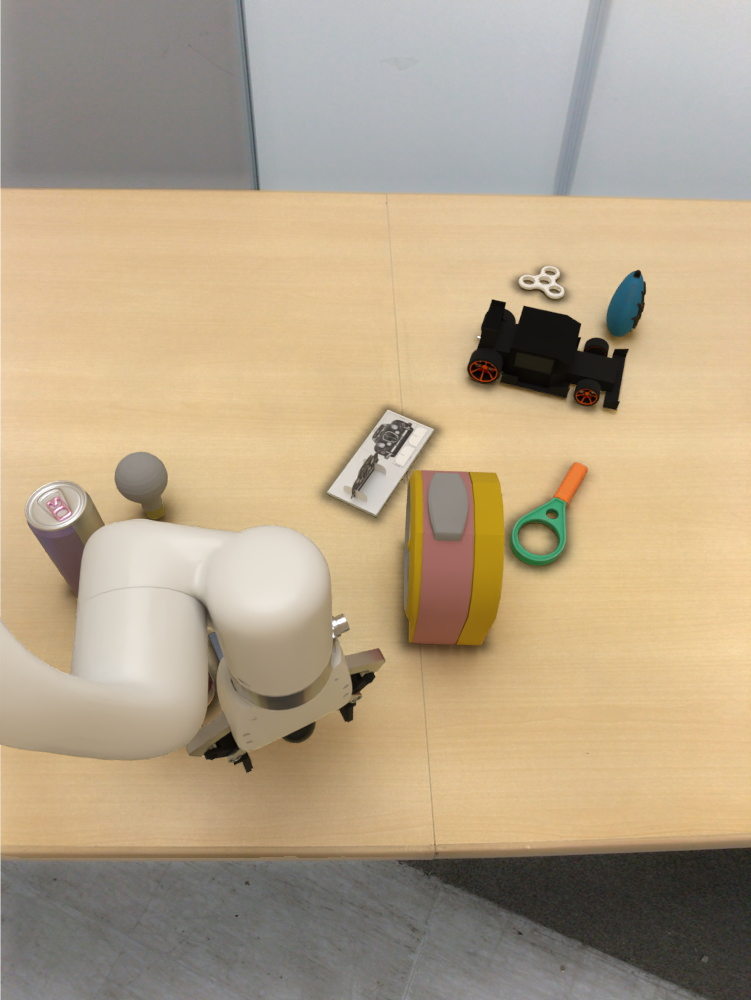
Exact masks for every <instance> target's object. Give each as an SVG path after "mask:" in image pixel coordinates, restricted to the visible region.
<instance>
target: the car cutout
mask: <svg viewBox="0 0 751 1000" xmlns="http://www.w3.org/2000/svg"><path fill="white" fill-rule="evenodd" d="M434 432H435V429H434V428H432V427H430V426H428V425H426V424H423V423H421V422H419V421H416V420H413V419H411V418H409V417H407V416H404V415H402V414H399V413H397V412H395V411H392V410H390V409H387V410H386V412H385V413H384V414H383V415H382V417H381V418H380V419H379V421H378V422H377V424H376V425H375V426H374V428H373V429H372V430H371V432H370V433H369V434H368V436H367V437H366V439H365V440H364V441H363V443H362V444H361V445H360V446H359V448H358V449H357V450H356V452H355V454H354V455H353V456H352V457H351V458H350V460H349V461H348V463H347V464H346V466H345V467H344V468H343V470H342V471H341V472H340V474H339V475H338V477H337V478H336V479H335V481H334V482H333V483H332V485H331V486H330V487H329V489H328V490H327V492H326V494H327V495H328V496H330V497H332V498H334V499H336V500H339V501H341V502H343V503H345V504H347V505H349V506H351V507H354V508H355V509H357V510H360V511H362V512H364V513H366V514H368V515H370V516H373V517H375V518H378V515H379V514H380V513H381V511H382V510H383V508H384V506H386V504H387V502H388V501H389V499H390V498H391V496H392V494H393V493H394V492H395V490H396V489H397V487H398V486H399V484H400V483H401V481H402V479H403V478H404V477H405V476H406V474H407V472H408V471H409V470H410V468H411V466H412V465H413V463H414V462H415V461H416V459H417V458H418V456H419V455H420V453H421V452H422V450H423V449H424V447H425V445H426V444H427V443H428V441H429V439H430V438H431V437H432V436H433V434H434Z"/></svg>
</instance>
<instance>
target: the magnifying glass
mask: <svg viewBox="0 0 751 1000" xmlns="http://www.w3.org/2000/svg"><path fill="white" fill-rule="evenodd" d="M588 471H589V469H588V467H587V466H586V465H584V464H582V463H580V462H578V461H577V462H573V463H572V465H571V467H570V468H569V470H568V471H567V472H566V475H565V476H564V478H563V480H562V481H561V483H560V484H559V487H558V488H557V490H556V491H555V493H554V494H553V497H552V499H551V500H549V501H548V502H546V503H544V504H542V505H540V506H539V507H536V508H535V509H533V510H532V511H529V512H528V513H526V514H524V515H523V516H521V517H520V518H519V519H518V520H517V521H516V522H515V524H514V525H513V528H512V529H511V532H510V537H509V539H510V540H509V544H510V548H511V551H512V552H513V555H515V556H516V558H518V559H519V560H520V561H521V562H523V563H525V564H527V565H530V566H536V567H538V566H539V567H540V566H547V565H548V564H551V563H553V562H554V561H556V560H557V559H558V558H559V557H560V556H561V555H562V553H563V551H564V549H565V546H566V544H567V543H566V542H567V520H566V519H567V518H566V507H567V506H568V505H569V504H570V502H571V500H572V499H573V497H574V495H575V493H576V491H577V490H578V488H579V487H580V485H581V483H582V481H583V480H584V479H585V476H586V475H587V473H588ZM548 513H552V514H554V515H555V516H556V518H549V517H548V515H547V514H548ZM530 523H538V524H543V525H546V526H547V527H549V528H550V529H552V531H553V532H554V533H555V534H556V537H557V541H558V543H557V547H556V549H555V550H553V552H550V553H548V554H545V555H544V554H543V555H541V554H540V555H539V554H535V553H532V552H529V551H528V550H526V549H525V548H524V547H523V546H522V544H521V542H520V541H519V538H518V537H519V536H518V534H519V531H520V529H521V528H522V527H524V525H527V524H530Z"/></svg>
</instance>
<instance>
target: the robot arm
mask: <svg viewBox="0 0 751 1000" xmlns="http://www.w3.org/2000/svg"><path fill="white" fill-rule="evenodd" d="M330 571H331V570H330V566H329V563H328V562H327V559H326V557H325V555H324V553H323V551H322V550H321V548H319V546H318V545H317V544H316V543H315V542H314V540H312V539H311V538H309V537H308V536H307V535H305V534H304V533H302V532H300V531H298V530H297V529H294V528H291V527H287V526H283V525H277V524H264V525H257V526H253V527H248V528H246V529H243V530H240V531H237V530H227V529H217V528H208V527H201V526H195V525H187V524H182V523H175V522H167V521H159V520H154V519H146V518H132V519H127V520H119V521H113V522H110V523H108V524H105V526H103V527H101V528H99V529H98V530H97V531H95V532H94V533H93V534H92V535H91V537H90V538H89V539H88V541H87V543H86V545H85V548H84V551H83V555H82V560H81V569H80V580H79V591H78V598H77V602H76V603H77V604H76V614H75V620H74V630H73V639H72V650H71V651H72V652H71V662H70V673H67V672H64V671H62V670H61V669H58V668H56V667H54V666H52V665H51V664H48V663H47V662H45V661H44V660H43V659H42V658H40V657H39V656H37V655H36V654H35V653H33V652H32V651H31V650H30V649H28V647H27V646H25V645H24V644H23V642H21V640H19V639H18V638H17V637H16V636H15V635H14V633H13V632H12V631H11V629H10V628H9V627H8V626H7V624H6V623H5V622H4V621H3V620H2V618H1V617H0V746H4V747H6V748H7V747H8V748H12V749H17V750H22V751H30V752H38V753H46V754H47V753H48V754H55V755H60V756H61V755H62V756H67V757H68V756H69V757H75V758H84V759H85V758H86V759H93V760H94V759H95V760H102V761H124V762H125V761H127V762H128V761H129V762H133V761H146V760H152V759H157V758H160V757H165V756H168V755H171V754H173V753H175V752H177V751H179V750H181V749H182V748H184V747H185V750H186V752H187V755H188V757H194V758H202V757H204V758H205V760H206V761H209V760H210V761H213V760H216V759H222V758H226V760H227V762H228V764H229V763H230V764H231V763H233V765H234V766H237V765H239V764H242V765H243V768H244V770H245V773H246V774H248V773H251V772H252V771H253V769H254V765H253V763H252V760H251V757H250V754H249V752H253V751H255V750H258V749H261V748H263V747H265V746H267V745H269V744H272V743H274V742H276V741H278V740H280V739H282V737H284V736H286V735H288V734H290V733H292V732H294V731H297V730H299V729H301V728H303V727H305V726H307V725H309V724H311V723H313V722H315V721H316V722H317V721H319V720H321V719H322V718H324V717H326V716H328V715H330V714H332V713H334V712H336V711H339V713H340V715H341V717H342V719H343V721H344V723H350V722H352V721H354V708H355V707H356V706H357V703H358V701H360V700H361V699H362V698H363V694H362V692H361V691H362V690H364V689H365V688H366V687H367V686H368V685H369V684H372V683H373V681H375V679H376V677H377V676H376V672H377V673H378V671H379V670H380V669H381V668H382V667H383V665H384V664H386V662H387V660H386V658H385V656H384V654H383V652H382V650H381V649H380V648H379V647H377V648H372V649H368V650H364V651H360V652H355V653H351V654H346V655H345V652H344V650H343V648H342V646H341V643H340V640H339V638H340V637H342V634H344V633H346V632H348V631H350V630H351V629H350V625H349V621H348V619H347V617H346V616H345V614H344V613H340V614H338V615H335V616H333V601H332V599H333V598H332V595H333V594H332V577H331V572H330ZM208 628H210V629H211V630H213V631H214V632H215V633H216V635H217V638H218V641H219V644H220V647H221V650H222V653H223V656H224V657H223V658H222V659H221V661H220V663H219V664H218V667H217V672H216V691H217V696H218V701H219V704H220V708H221V713H220V714H219V715H217V716H216V717H214V718H213V719H211V720H210V721H208V722H207V723H206V724H205V725H203V724H204V721H205V718H206V715H207V710H208V706H207V704H208V669H209V645H208V644H209V641H208V639H209V637H208Z"/></svg>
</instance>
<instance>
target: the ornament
mask: <svg viewBox="0 0 751 1000" xmlns="http://www.w3.org/2000/svg"><path fill="white" fill-rule="evenodd" d="M646 294H647V283H646V281H644V276H643V274H642V271H641V270H640V269H636V270H633V271H631V272H630V273H629V274H627V275H626V276H625V277H624V279H623V280H622V281H621V282H620V283H619V285H618V286H617V288H616V290H615V292H614V293H613V294H612V297H611V299H610V301H609V304H608V305H607V310H606V317H605V318H606V320H605V321H606V322H605V323H606V324H605V325H606V329H607V330H608V332H609V334H610V335H612V336H613V337H615V338H622V337H623V336H626V335H627V334H629V333H631V332H632V331H633V330H634V329H636V328H637V326H638V324H639V322H640V320H641V318H642V314H643V313H644V310H645V306H646V303H645V296H646Z"/></svg>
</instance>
